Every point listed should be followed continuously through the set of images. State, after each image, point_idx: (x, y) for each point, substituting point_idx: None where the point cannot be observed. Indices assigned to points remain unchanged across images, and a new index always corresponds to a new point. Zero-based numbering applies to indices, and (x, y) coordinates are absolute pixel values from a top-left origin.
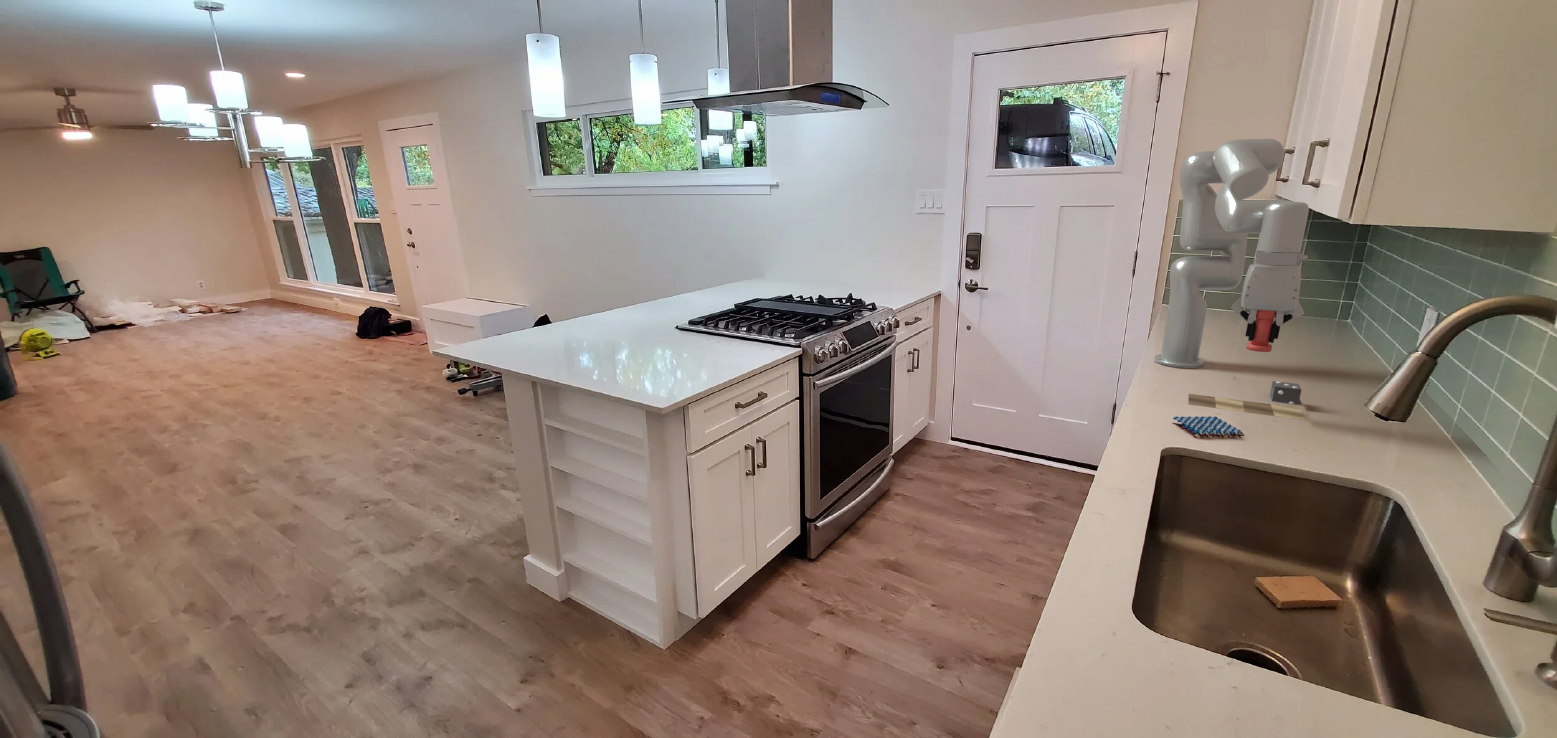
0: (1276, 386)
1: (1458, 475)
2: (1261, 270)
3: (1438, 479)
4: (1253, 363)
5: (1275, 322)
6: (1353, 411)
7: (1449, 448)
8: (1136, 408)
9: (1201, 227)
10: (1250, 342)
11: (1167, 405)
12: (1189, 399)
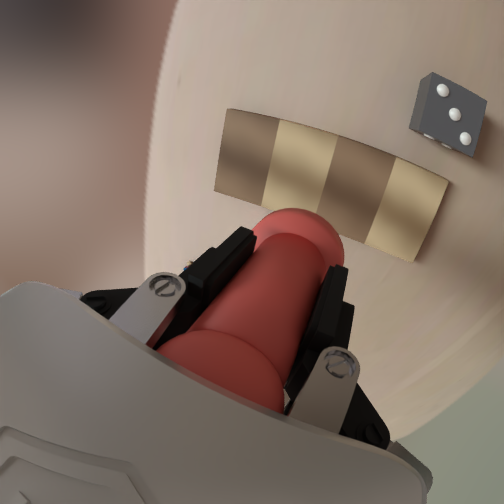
0: (422, 130)
1: (454, 393)
2: None
3: (424, 402)
4: None
5: (290, 394)
6: None
7: None
8: (148, 205)
9: None
10: (260, 230)
11: (189, 174)
12: (220, 156)
